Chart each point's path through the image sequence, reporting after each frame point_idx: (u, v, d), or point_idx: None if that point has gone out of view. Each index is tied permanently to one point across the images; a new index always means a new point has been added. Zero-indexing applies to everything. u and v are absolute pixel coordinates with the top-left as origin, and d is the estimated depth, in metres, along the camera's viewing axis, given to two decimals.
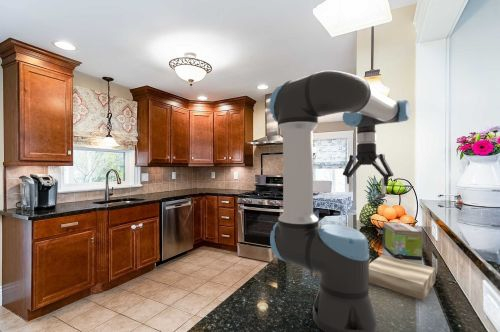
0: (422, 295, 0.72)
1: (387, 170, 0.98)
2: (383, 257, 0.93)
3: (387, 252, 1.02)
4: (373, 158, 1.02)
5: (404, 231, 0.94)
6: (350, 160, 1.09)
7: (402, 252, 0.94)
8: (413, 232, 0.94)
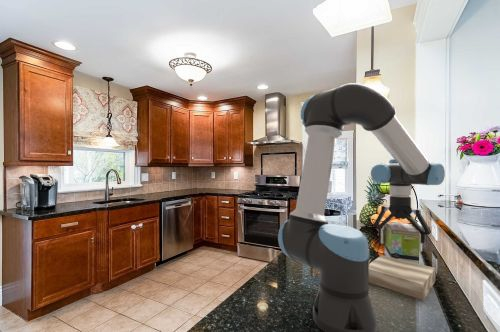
0: (422, 295, 0.72)
1: (424, 227, 0.94)
2: (383, 257, 0.93)
3: (387, 251, 1.03)
4: (408, 213, 0.98)
5: (400, 231, 0.95)
6: (382, 211, 1.05)
7: (399, 251, 0.95)
8: (410, 232, 0.94)
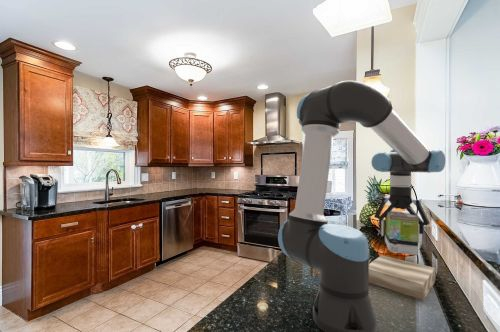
0: (422, 295, 0.72)
1: (423, 218, 0.94)
2: (383, 257, 0.93)
3: (386, 238, 1.03)
4: (408, 203, 0.98)
5: (399, 216, 0.95)
6: (382, 202, 1.05)
7: (397, 237, 0.95)
8: (409, 217, 0.94)
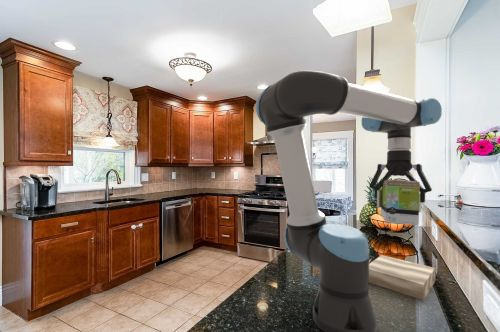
0: (422, 295, 0.72)
1: (425, 184, 0.83)
2: (383, 257, 0.93)
3: (382, 210, 0.91)
4: (408, 168, 0.86)
5: (398, 182, 0.83)
6: (378, 170, 0.93)
7: (395, 205, 0.83)
8: (408, 183, 0.82)
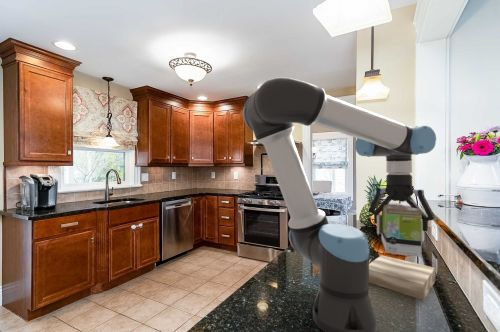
0: (422, 295, 0.72)
1: (428, 212, 0.77)
2: (383, 257, 0.93)
3: (383, 237, 0.86)
4: (409, 194, 0.81)
5: (398, 210, 0.78)
6: (378, 194, 0.88)
7: (396, 235, 0.78)
8: (409, 211, 0.77)
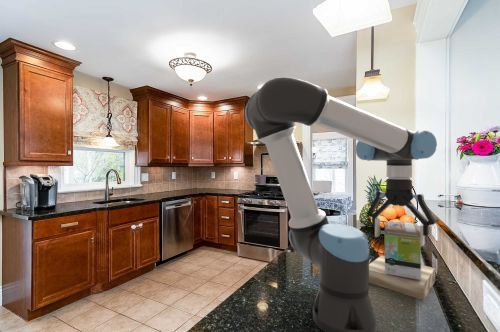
0: (422, 296, 0.72)
1: (428, 216, 0.77)
2: (383, 258, 0.93)
3: None
4: (408, 199, 0.81)
5: (396, 231, 0.78)
6: (377, 198, 0.88)
7: (394, 256, 0.78)
8: (408, 233, 0.76)
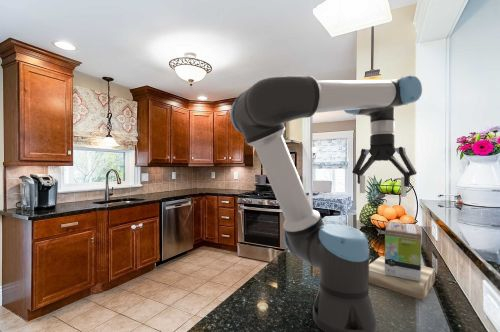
0: (422, 296, 0.72)
1: (408, 167, 0.79)
2: (383, 258, 0.93)
3: None
4: (391, 152, 0.83)
5: (397, 232, 0.77)
6: (362, 155, 0.90)
7: (394, 257, 0.77)
8: (409, 234, 0.76)
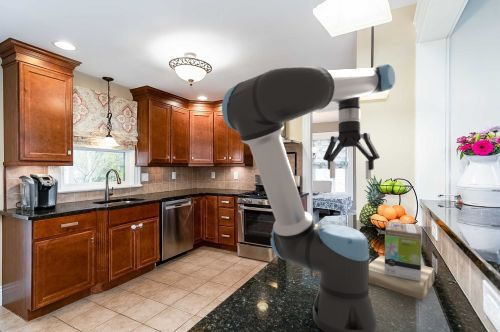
0: (421, 295, 0.72)
1: (372, 151, 0.84)
2: (382, 258, 0.93)
3: None
4: (356, 138, 0.88)
5: (397, 232, 0.77)
6: (331, 142, 0.95)
7: (394, 257, 0.77)
8: (409, 234, 0.75)
